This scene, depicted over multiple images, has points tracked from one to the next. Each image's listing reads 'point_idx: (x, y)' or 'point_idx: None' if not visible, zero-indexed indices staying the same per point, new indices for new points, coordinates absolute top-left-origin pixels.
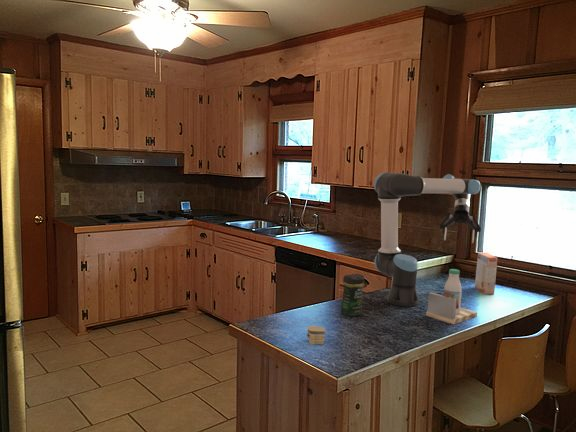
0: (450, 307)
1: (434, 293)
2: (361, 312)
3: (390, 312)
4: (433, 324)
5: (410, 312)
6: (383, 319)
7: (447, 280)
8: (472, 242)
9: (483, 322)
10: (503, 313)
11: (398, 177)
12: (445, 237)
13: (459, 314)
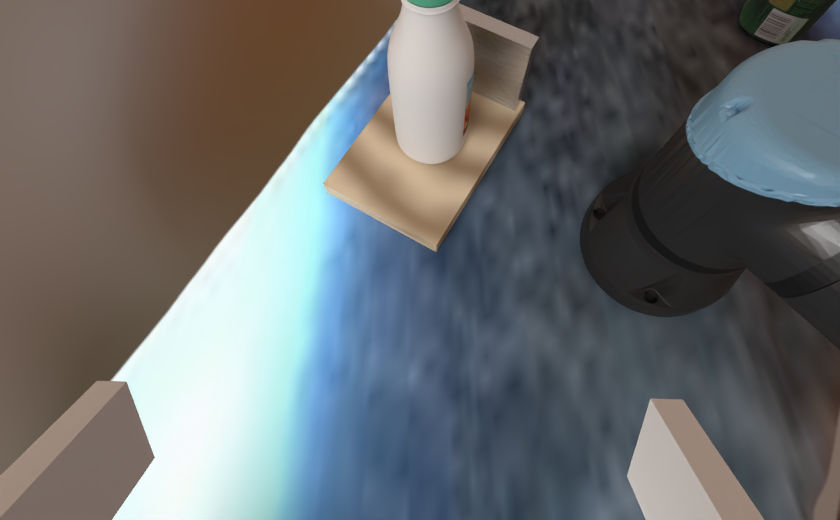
0: None
1: (512, 37)
2: (742, 11)
3: (654, 92)
4: None
5: (585, 125)
6: (652, 16)
7: (463, 18)
8: (143, 446)
9: (311, 133)
10: (201, 290)
11: None
12: (652, 403)
13: None
